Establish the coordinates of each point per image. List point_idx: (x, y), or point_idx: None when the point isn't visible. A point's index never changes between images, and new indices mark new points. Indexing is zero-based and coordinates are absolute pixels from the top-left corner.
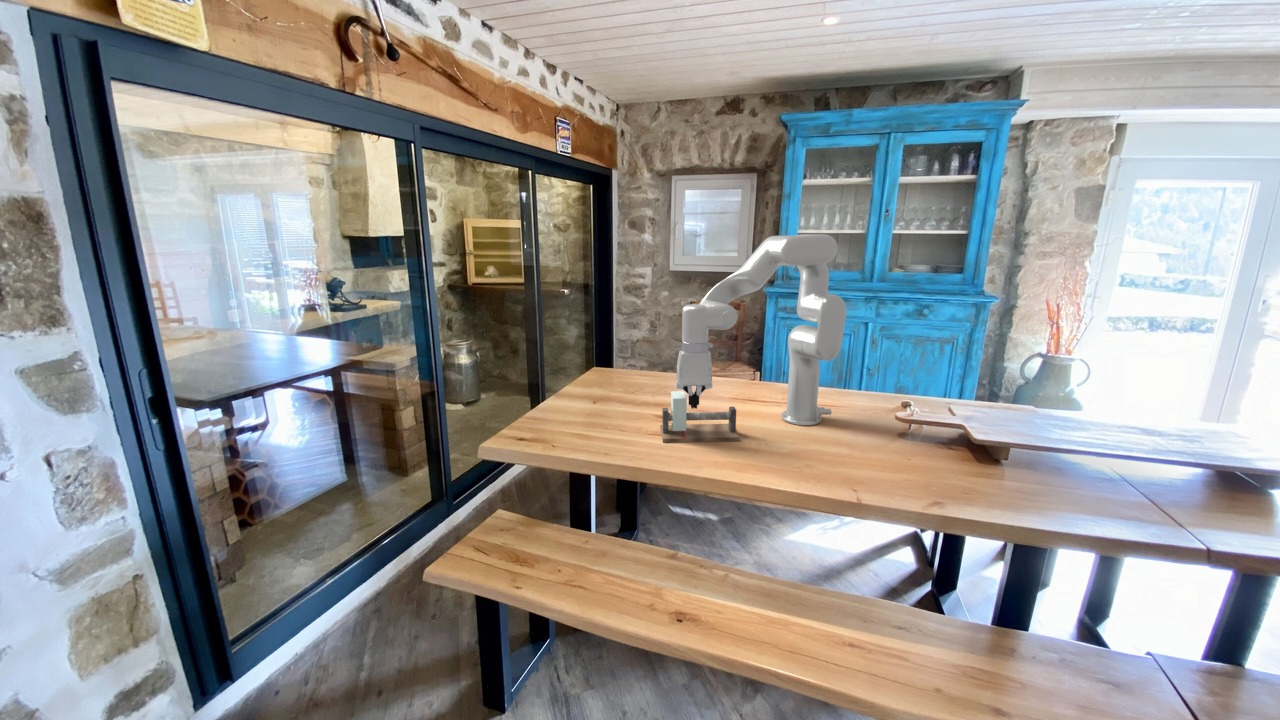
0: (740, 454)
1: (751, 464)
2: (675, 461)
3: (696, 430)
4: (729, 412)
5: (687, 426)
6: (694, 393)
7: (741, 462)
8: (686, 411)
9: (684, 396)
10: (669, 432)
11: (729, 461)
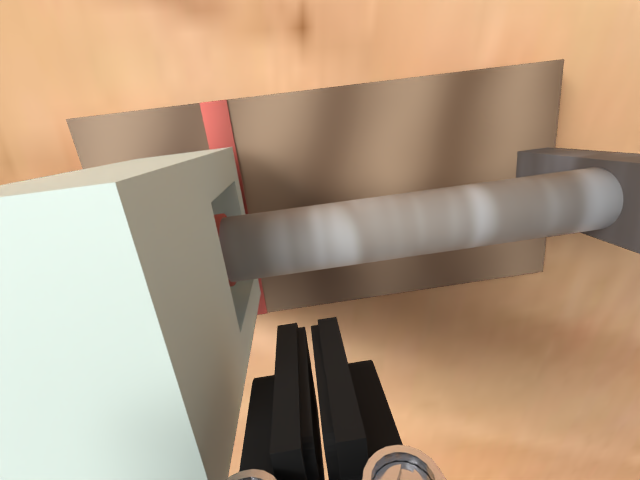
0: (492, 383)
1: (508, 447)
2: (234, 465)
3: (322, 199)
4: (614, 215)
5: (263, 133)
6: (338, 465)
7: (478, 439)
8: (244, 379)
9: (175, 460)
10: None
11: (437, 438)
